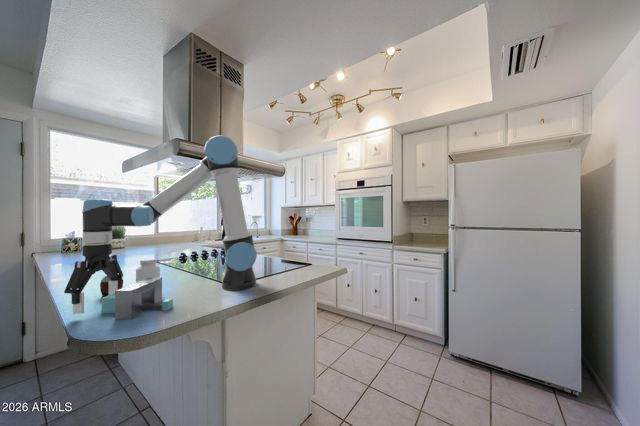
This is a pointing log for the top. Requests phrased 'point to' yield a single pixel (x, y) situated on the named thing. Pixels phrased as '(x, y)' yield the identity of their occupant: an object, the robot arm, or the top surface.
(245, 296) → the top surface
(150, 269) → the pill bottle
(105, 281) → the mate gourd
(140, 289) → the grey bridge block
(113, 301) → the teal and grey bar
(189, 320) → the top surface
